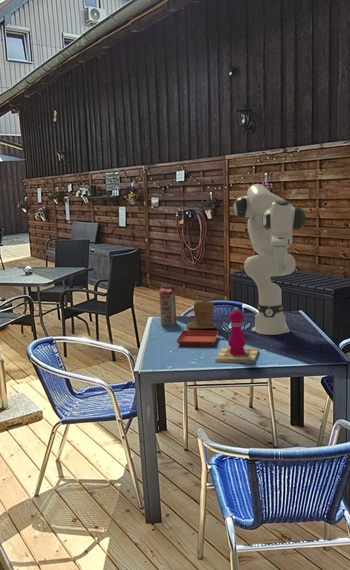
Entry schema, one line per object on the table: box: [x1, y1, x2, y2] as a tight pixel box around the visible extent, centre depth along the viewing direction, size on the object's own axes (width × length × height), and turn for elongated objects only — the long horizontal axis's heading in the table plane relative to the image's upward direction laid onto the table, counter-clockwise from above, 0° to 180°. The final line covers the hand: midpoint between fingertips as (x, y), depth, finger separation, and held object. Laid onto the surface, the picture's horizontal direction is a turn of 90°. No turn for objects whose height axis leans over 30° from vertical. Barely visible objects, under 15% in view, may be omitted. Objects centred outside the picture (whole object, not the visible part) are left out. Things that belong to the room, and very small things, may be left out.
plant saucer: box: [176, 329, 219, 347], centre depth 244 cm, size 18×18×3 cm
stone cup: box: [186, 299, 217, 330], centre depth 267 cm, size 15×12×15 cm
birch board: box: [215, 346, 259, 364], centre depth 219 cm, size 16×16×2 cm
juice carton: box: [158, 283, 177, 326], centre depth 278 cm, size 7×7×22 cm
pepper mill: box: [227, 306, 246, 355], centre depth 217 cm, size 7×7×20 cm
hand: (281, 272), depth 217 cm, fingers open, 8 cm apart
